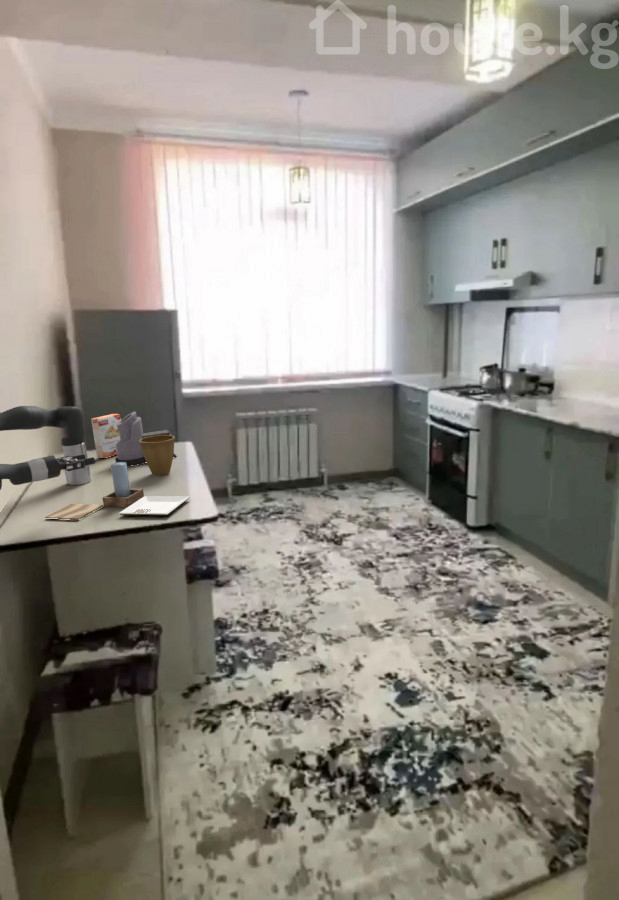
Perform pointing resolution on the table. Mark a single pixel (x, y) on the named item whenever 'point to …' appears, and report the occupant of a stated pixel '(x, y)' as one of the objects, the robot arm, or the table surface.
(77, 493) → the table surface
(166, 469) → the plant pot
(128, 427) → the grey boots
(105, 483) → the table surface
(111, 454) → the cracker box
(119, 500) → the holder
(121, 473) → the cylinder
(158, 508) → the plate
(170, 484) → the table surface
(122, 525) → the table surface
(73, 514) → the wooden board
